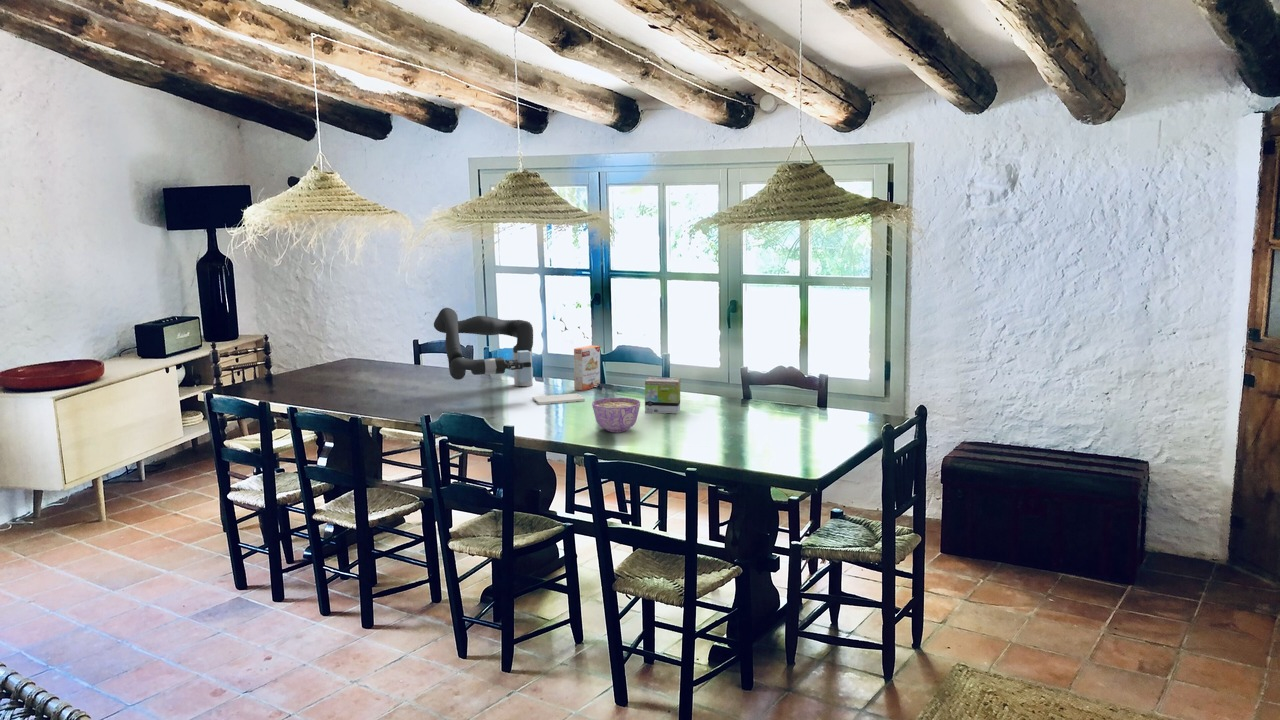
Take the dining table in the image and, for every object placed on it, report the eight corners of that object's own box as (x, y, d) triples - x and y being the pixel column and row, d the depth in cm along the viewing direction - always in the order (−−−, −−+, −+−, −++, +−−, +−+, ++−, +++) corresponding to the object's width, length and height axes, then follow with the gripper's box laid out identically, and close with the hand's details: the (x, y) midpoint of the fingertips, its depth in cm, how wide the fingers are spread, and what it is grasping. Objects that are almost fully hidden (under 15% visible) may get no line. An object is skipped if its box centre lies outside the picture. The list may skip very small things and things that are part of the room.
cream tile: (532, 399, 468) (532, 396, 468) (577, 395, 475) (576, 393, 475) (538, 404, 456) (538, 402, 456) (584, 401, 463) (584, 398, 463)
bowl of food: (636, 436, 395) (636, 408, 393) (587, 435, 399) (587, 407, 397) (644, 425, 415) (644, 398, 413) (597, 423, 418) (597, 396, 416)
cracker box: (583, 391, 486) (582, 349, 482) (573, 390, 489) (572, 348, 486) (601, 386, 497) (600, 345, 493) (592, 385, 500) (591, 344, 497)
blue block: (518, 380, 465) (517, 350, 463) (528, 379, 467) (527, 350, 465) (520, 382, 461) (519, 352, 458) (530, 381, 462) (530, 351, 460)
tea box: (644, 413, 436) (644, 380, 434) (647, 408, 446) (647, 376, 443) (678, 414, 434) (678, 381, 431) (680, 409, 444) (680, 377, 441)
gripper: (490, 371, 465) (526, 368, 471) (497, 376, 452) (533, 373, 457) (490, 355, 464) (525, 353, 469) (496, 360, 450) (533, 358, 456)
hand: (529, 363), depth 463 cm, fingers closed on blue block, 5 cm apart
